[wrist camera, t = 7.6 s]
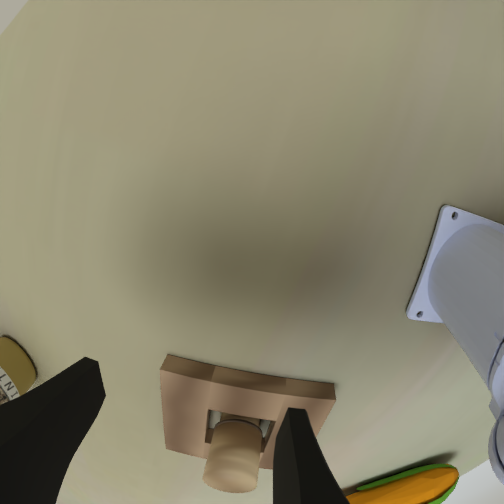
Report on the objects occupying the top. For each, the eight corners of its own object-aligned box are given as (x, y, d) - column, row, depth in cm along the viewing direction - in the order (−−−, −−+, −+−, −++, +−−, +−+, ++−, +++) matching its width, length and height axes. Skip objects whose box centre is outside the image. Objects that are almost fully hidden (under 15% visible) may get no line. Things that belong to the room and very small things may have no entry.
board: (333, 383, 21) (336, 400, 20) (294, 457, 26) (294, 471, 24) (167, 354, 22) (159, 369, 20) (170, 435, 26) (166, 448, 24)
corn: (462, 504, 19) (318, 548, 24) (449, 465, 26) (319, 507, 31) (468, 486, 18) (301, 536, 22) (451, 442, 25) (303, 490, 29)
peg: (256, 400, 23) (247, 471, 16) (269, 427, 24) (263, 492, 17) (211, 405, 23) (193, 471, 17) (226, 431, 25) (214, 492, 18)
